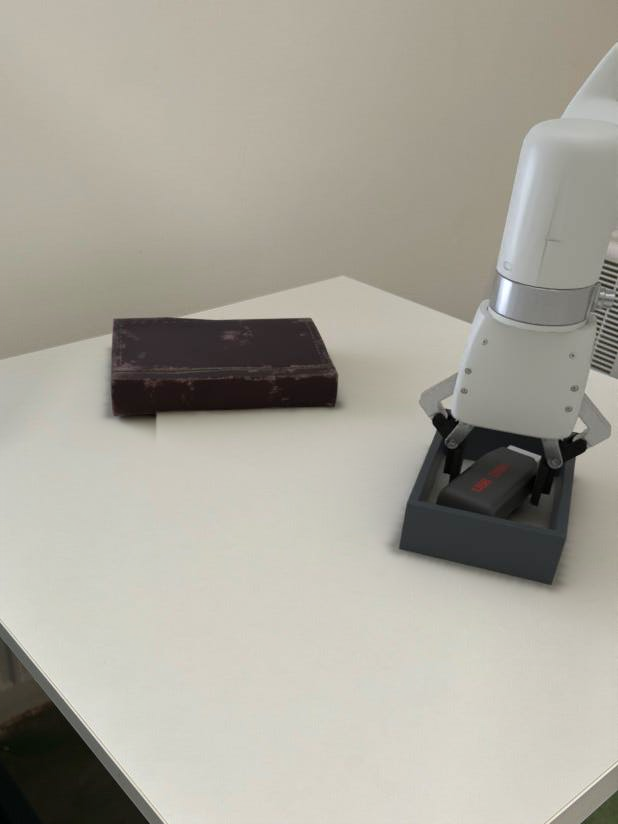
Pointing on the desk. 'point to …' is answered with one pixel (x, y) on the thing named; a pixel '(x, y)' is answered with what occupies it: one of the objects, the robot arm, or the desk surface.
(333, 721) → the desk surface
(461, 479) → the usb drive
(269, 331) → the diary
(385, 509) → the desk surface
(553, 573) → the tub
